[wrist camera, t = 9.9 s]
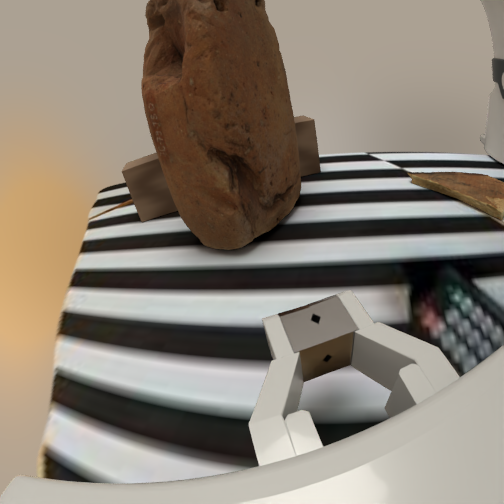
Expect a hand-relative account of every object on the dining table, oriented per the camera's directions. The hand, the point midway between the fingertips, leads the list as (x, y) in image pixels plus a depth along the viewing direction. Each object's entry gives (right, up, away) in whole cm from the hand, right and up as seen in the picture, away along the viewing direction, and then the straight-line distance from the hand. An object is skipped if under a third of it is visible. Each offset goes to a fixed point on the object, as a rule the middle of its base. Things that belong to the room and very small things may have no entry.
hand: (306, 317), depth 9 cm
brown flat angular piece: (+19, +7, +13) cm, 24 cm away
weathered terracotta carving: (-2, +5, +16) cm, 17 cm away
